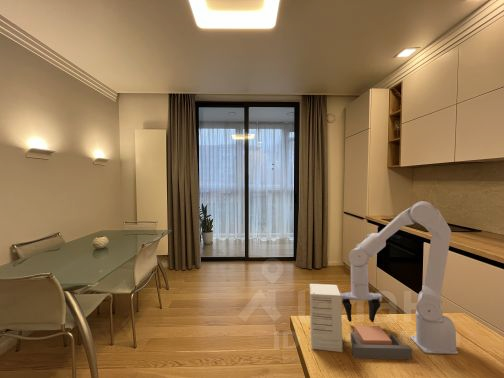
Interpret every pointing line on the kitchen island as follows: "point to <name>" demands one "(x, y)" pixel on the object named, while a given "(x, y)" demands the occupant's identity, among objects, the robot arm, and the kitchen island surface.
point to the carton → (371, 335)
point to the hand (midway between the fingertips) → (360, 320)
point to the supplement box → (325, 317)
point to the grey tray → (381, 349)
